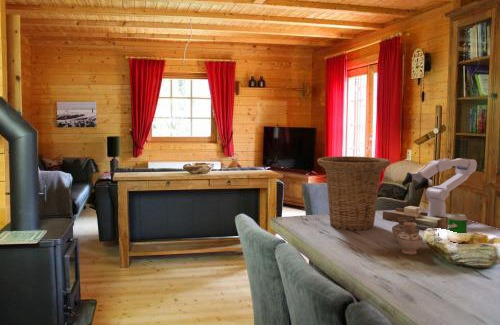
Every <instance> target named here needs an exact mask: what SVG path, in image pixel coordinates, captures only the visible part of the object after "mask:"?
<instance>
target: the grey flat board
mask: <svg viewBox="0 0 500 325" xmlns="http://www.w3.org/2000/svg"><path fill="white" fill-rule="evenodd" d="M432 217H436V218H445V217H441V216H432ZM413 223H416V224H417V222H413ZM416 227H417V228H418V229H419V230H422V231H425V230H424V229H427V228H437V226H434V227H431V226H426V225H420V224H417V226H416Z"/></svg>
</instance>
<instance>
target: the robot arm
mask: <svg viewBox="0 0 500 325" xmlns="http://www.w3.org/2000/svg"><path fill="white" fill-rule="evenodd" d="M477 166H478V163H477V160H476V159H470V158H469V159H468V158H462V157H460V158H458V157H457V158H455V159H450V158H447V157H444V158H443V159H440V158H439V159H438V160H429V161H428V164H427V165H426V166H425V167H424V168H423V169H421V170H419V171H417V172H409V171H408V172H407V173H406V176H405V178H404V180H403V181H402V186H403V187H404V186H406V185H407V184H410V183H413V180H415V182H417V184H416V185H415V186H414V190H415V191H418V190H421V189H426V190H425V196H426V197H425V198H427V200H428V216H430V217H432V216H441V217H448V215H446V209H447V204H446V202H445V200H447V198H448V197H449V196H450V192H451V191H452V190H454V189H455V188H457V187H459V185H461V184H463V183H464V182H466V181H467V180H468V179H469V177H470V176H471V174H473V173H475V172H476V170H477ZM452 167H455V171H454V172H455V174H454V175H453V176H452V177H450V178H449V179H447V180H446V181H444V182H442V183H441V184H439V185H434V186H432V185H433V180H432V179H431V178H432V177H433V176H434V175H436V174H437V173H439V172H440V173H442V172H444V171H447V170H450V169H452ZM429 186H432V187H429Z"/></svg>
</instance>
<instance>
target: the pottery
mask: <svg viewBox="0 0 500 325" xmlns="http://www.w3.org/2000/svg"><path fill="white" fill-rule="evenodd" d="M397 222H398V223H397V224H395V225H394V226H391V231H392V234H393V236H394V238H395V239H396V240H397V243H398V245H399V246H400V248H401V249H402V250H401V253H403V254H405V255H416V254H417V250H418V249H419V248H420V247H421V246H422V243H423V239H424V238H423V236H421V235H420V234H419V233H420V229H418V228H417V227H416V226H417V224H416V223H413V219H412V218H406V217H403V218H398V221H397Z"/></svg>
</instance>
